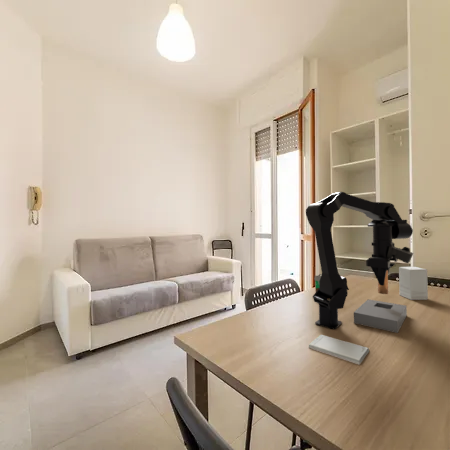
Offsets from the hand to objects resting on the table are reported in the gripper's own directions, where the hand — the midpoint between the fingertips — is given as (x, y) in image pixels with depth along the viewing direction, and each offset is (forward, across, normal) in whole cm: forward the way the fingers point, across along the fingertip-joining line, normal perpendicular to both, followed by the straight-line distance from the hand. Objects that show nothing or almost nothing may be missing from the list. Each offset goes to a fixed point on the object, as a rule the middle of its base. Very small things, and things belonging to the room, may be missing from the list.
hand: (382, 284), depth 90 cm
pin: (+3, 0, 0) cm, 3 cm away
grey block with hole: (+11, -4, 0) cm, 12 cm away
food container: (+11, +11, +24) cm, 29 cm away
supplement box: (+11, +32, -5) cm, 34 cm away
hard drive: (+12, -34, +4) cm, 36 cm away
